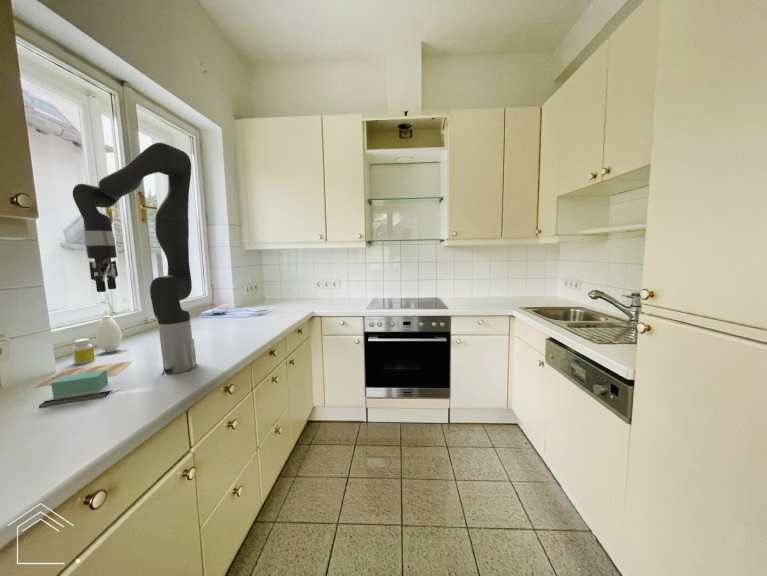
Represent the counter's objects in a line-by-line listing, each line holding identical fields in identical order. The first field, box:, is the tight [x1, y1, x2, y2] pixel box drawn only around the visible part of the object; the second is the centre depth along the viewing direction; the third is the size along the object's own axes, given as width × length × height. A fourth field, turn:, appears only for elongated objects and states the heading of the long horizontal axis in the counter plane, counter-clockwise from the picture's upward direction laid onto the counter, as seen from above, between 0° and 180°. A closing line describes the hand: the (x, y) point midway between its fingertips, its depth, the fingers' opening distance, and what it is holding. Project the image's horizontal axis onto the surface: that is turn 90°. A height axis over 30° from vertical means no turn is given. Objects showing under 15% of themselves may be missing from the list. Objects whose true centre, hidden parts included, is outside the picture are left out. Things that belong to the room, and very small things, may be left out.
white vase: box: [95, 309, 123, 353], centre depth 127 cm, size 8×8×18 cm
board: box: [33, 360, 134, 388], centre depth 101 cm, size 20×14×2 cm
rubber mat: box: [38, 390, 114, 409], centre depth 88 cm, size 14×10×1 cm
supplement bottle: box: [72, 338, 96, 365], centre depth 112 cm, size 5×5×10 cm
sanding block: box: [50, 370, 109, 400], centre depth 88 cm, size 10×6×5 cm, turn 112°
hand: (107, 290), depth 107 cm, fingers open, 8 cm apart
